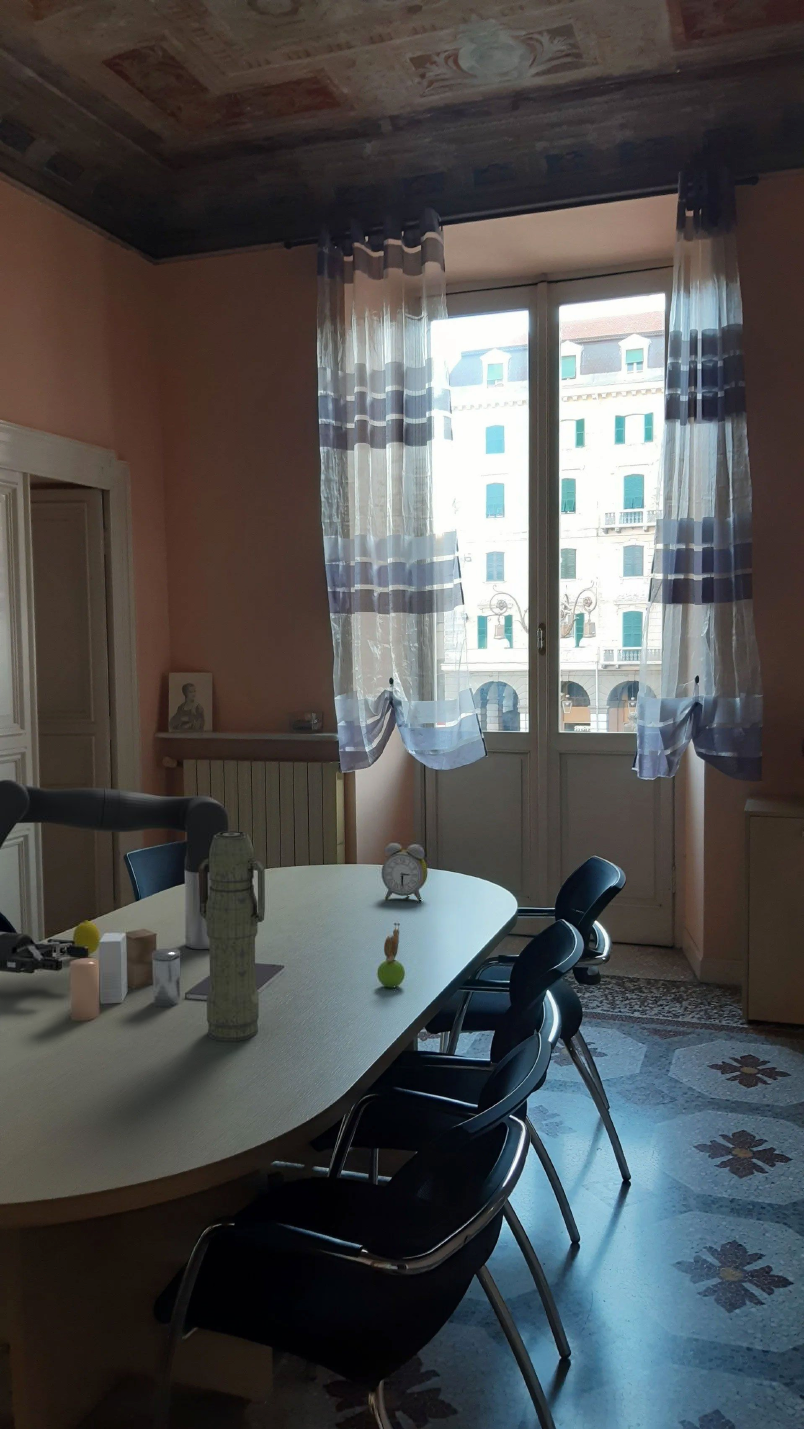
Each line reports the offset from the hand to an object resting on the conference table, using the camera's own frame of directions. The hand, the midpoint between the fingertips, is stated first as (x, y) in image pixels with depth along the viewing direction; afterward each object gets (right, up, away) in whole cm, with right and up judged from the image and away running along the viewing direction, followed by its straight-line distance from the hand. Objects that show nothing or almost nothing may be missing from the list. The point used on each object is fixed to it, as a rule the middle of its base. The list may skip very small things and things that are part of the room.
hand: (74, 958), depth 204 cm
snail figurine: (+61, -7, +5) cm, 62 cm away
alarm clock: (+64, -2, +78) cm, 101 cm away
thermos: (+34, -8, -20) cm, 40 cm away
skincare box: (+8, -7, -2) cm, 11 cm away
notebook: (+30, -7, +7) cm, 32 cm away
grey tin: (+19, -7, -4) cm, 21 cm away
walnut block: (+11, -7, +8) cm, 15 cm away
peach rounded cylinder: (+6, -8, -12) cm, 15 cm away
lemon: (-5, -6, +25) cm, 26 cm away
